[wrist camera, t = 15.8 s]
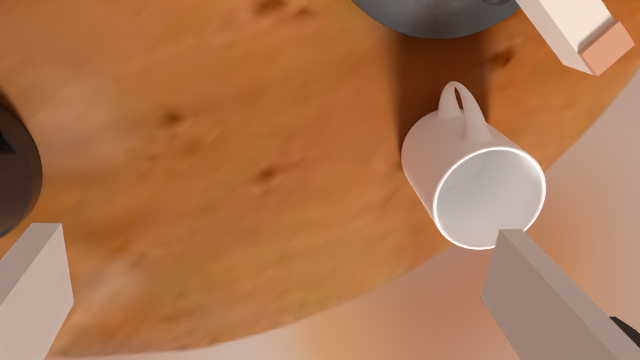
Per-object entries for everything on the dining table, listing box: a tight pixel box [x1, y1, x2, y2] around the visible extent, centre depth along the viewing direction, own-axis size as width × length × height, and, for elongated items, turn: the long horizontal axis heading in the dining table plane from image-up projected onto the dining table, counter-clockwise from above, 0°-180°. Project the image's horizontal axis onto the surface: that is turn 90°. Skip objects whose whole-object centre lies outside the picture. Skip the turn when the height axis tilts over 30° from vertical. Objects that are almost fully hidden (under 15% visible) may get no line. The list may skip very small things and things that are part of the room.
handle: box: [516, 0, 635, 76], centre depth 33 cm, size 9×3×9 cm, turn 45°
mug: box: [401, 81, 546, 249], centre depth 39 cm, size 9×12×11 cm
